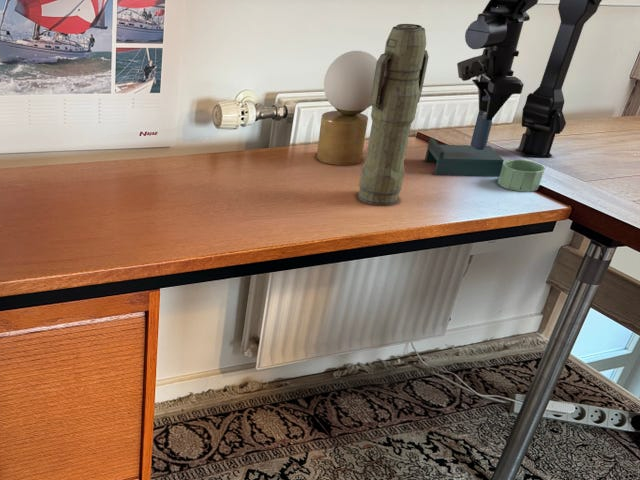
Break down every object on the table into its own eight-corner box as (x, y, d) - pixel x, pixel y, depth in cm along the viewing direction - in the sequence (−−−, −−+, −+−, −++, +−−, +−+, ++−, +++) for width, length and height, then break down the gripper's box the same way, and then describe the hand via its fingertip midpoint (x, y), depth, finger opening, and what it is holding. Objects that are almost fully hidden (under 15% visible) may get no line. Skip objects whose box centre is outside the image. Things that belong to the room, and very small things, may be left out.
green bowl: (530, 178, 165) (536, 160, 162) (544, 192, 157) (550, 172, 155) (493, 178, 165) (498, 159, 163) (505, 191, 158) (510, 171, 155)
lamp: (328, 144, 187) (342, 43, 173) (379, 153, 180) (397, 49, 166) (303, 158, 177) (315, 53, 163) (356, 169, 170) (373, 60, 156)
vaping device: (479, 143, 168) (492, 91, 161) (486, 150, 164) (500, 97, 157) (468, 143, 168) (481, 91, 161) (475, 150, 164) (488, 97, 157)
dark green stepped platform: (485, 161, 175) (491, 139, 172) (499, 176, 166) (505, 153, 163) (424, 160, 176) (429, 138, 173) (435, 174, 167) (440, 152, 164)
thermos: (343, 197, 155) (370, 25, 135) (381, 187, 160) (412, 20, 140) (373, 210, 149) (405, 32, 129) (411, 199, 154) (447, 26, 134)
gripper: (453, 36, 161) (439, 105, 170) (479, 52, 146) (461, 127, 155) (503, 36, 161) (485, 106, 169) (533, 52, 145) (512, 128, 154)
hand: (484, 116), depth 162 cm, fingers closed on vaping device, 5 cm apart
